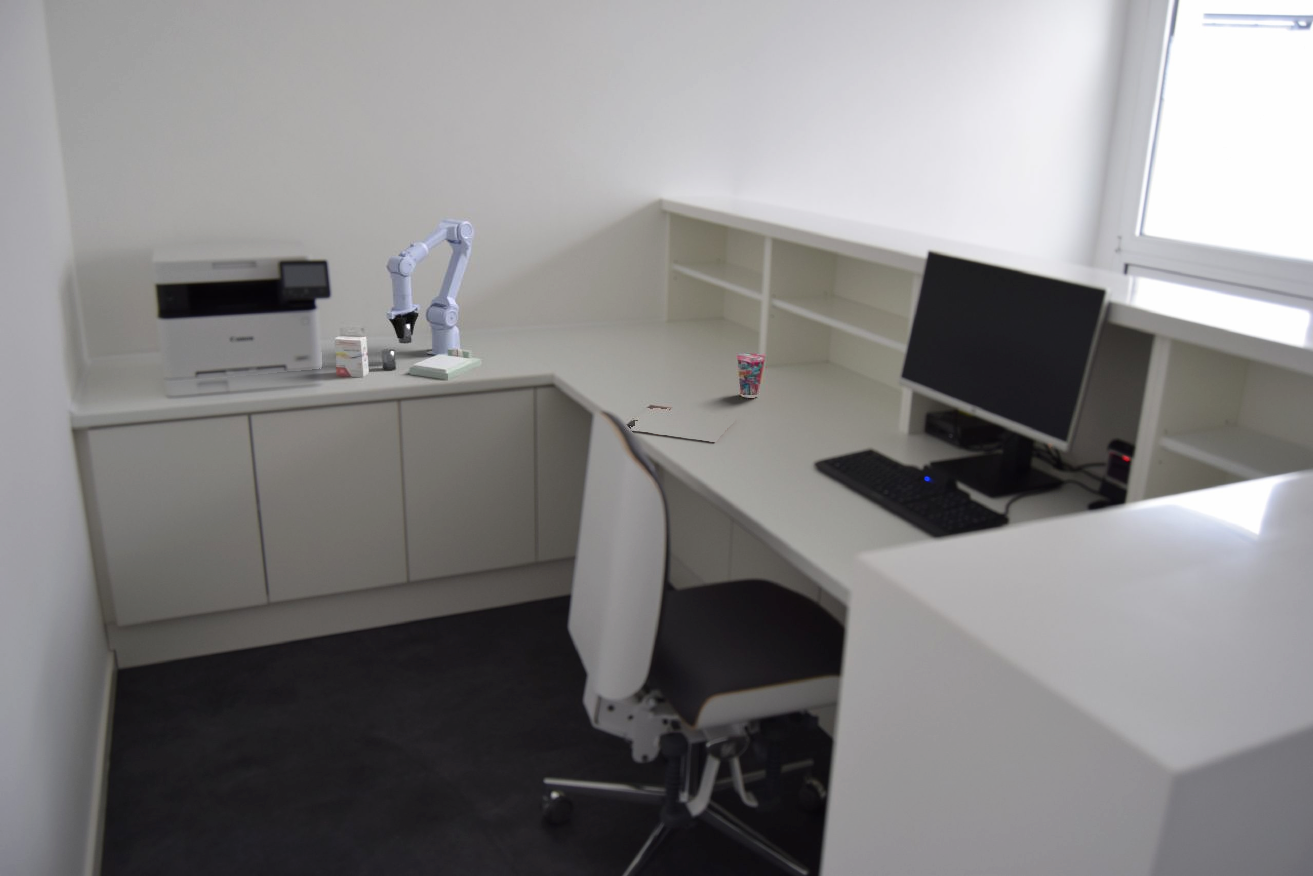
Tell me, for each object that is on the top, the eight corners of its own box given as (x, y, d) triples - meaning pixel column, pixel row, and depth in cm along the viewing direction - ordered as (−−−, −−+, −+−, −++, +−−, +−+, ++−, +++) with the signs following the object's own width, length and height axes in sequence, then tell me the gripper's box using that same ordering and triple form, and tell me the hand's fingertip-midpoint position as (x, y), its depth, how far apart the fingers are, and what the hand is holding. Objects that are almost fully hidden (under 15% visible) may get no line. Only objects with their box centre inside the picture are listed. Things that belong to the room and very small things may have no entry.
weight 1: (388, 366, 315) (386, 348, 313) (398, 368, 314) (397, 349, 312) (380, 369, 312) (378, 351, 310) (390, 371, 310) (389, 352, 308)
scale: (444, 359, 324) (443, 344, 323) (481, 364, 319) (480, 349, 318) (409, 374, 308) (408, 358, 306) (448, 379, 303) (447, 364, 301)
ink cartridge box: (336, 376, 304) (332, 328, 299) (342, 371, 309) (338, 325, 304) (363, 377, 303) (359, 330, 298) (369, 373, 308) (366, 326, 303)
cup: (729, 393, 296) (731, 354, 292) (755, 390, 299) (757, 352, 295) (744, 402, 288) (746, 362, 284) (770, 399, 291) (772, 359, 287)
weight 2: (403, 339, 321) (402, 321, 319) (414, 341, 319) (413, 322, 317) (396, 342, 317) (394, 324, 315) (406, 344, 316) (405, 325, 314)
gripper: (405, 289, 321) (408, 330, 325) (377, 297, 308) (380, 340, 313) (423, 291, 318) (426, 332, 323) (396, 299, 306) (399, 342, 310)
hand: (405, 336), depth 318 cm, fingers closed on weight 2, 4 cm apart
